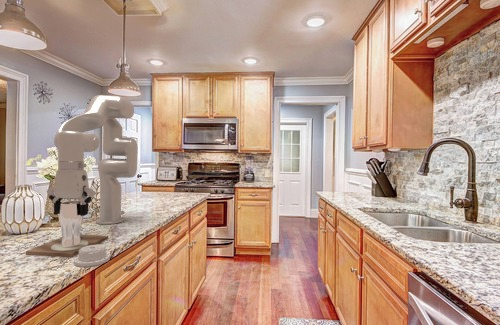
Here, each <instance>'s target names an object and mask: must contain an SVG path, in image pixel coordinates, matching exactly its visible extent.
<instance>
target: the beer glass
mask: <svg viewBox="0 0 500 325" xmlns="http://www.w3.org/2000/svg"><path fill="white" fill-rule="evenodd" d="M61 202H62V203H60V214H58V215H59V224H60V228H61V234H62V235H61V237H62V241H61V247H74V246H78V245H80V244H81V238H80V233H81V229H82V224H83V218H84V216H80V205H82V203H81V202H80V201H79V200H69V201H61Z"/></svg>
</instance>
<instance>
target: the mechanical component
mask: <svg viewBox="0 0 500 325" xmlns="http://www.w3.org/2000/svg"><path fill="white" fill-rule="evenodd" d="M110 259H111V253H109V252H107V246H105V245H104V244H100V243H99V244H97V245H90V246H85V247H82V248H80V250H79V254H78V256H77V255H76V257H74V258H73V264H74V266H76V267H80V268H81V267H83V268H88V267H89V268H90V267H95V266H100V265H103V264H105V263H107V262H109V261H110Z"/></svg>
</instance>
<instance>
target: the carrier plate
mask: <svg viewBox="0 0 500 325" xmlns="http://www.w3.org/2000/svg"><path fill="white" fill-rule="evenodd" d="M80 238H81V244H80V245H78V246H74V247H61V241H62V236H61V237H59V238H56V239H54V240H52V241H49V242H47V243H44V244H43V243H42V244H41V245H39V246H36V247H33V248H30V249H28V250H26V251H25V256H43V257H58V258H59V257H62V258H73V257H75V256H77V255H79V250H80V248H82V247H85V246H90V245H97V244H99V245H100V243H103V242H104V241H106V240H108V239H109V235H103V234H100V235H99V234H83V233H82V232H80Z"/></svg>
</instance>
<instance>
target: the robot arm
mask: <svg viewBox="0 0 500 325" xmlns="http://www.w3.org/2000/svg"><path fill="white" fill-rule="evenodd" d="M134 114H135V106H134V105H133V103H132V102H131V101H130V100H128V99H127V98H125V97H123V96H120V95H108V94H107V95H105V94H98V95H95V96H93V97H92V98H91V100H90V102H89V103H88V105H87V106H86V108H85V109H84V111H83V113H81V114H78V115H76V116H74V117H72V118H70V119H67V120H66V121H64V122H63V123H62V124H61V126H59V129H58V130H57V131H56V133H55V135H54V140H53V143H54V146H55V148H56V149H57V170H56V172H55V176H54V184H53V185H54V186H52V187H50V188H49V189H47V190H46V193H47V195H48V198H49V200H50V201H51V203H52V204H53V215H54V216H57V215H59V214H60V203H62V202H63V200H65V199H67V200H68V199H69V200H78V201H80V202H81V203H82V205H80V216H83V217H84V216H86V215H88V214H89V204H91V202H92V201H93V200H94V197H95V195H96V191H95V190H93V189H91V188H90V186H89V178H88V172H87V169H85V168H86V167H87V164H86V163H84V162H85V161H84V159H85V158H84V156H85V155H84V154H85V153H92V152H95V151H97V150H98V148H99V146H100V139H99V137H98V136H97V135H96V134H95V133H93V132H90V131H94V130H97V129H100V128H102V127H103V132H102V133H103V137H102V151H103V152H102V153H103V154H105V155H106V156H110V157H111V156H113V157H126V158H112V157H111V158H104V159H101V160H100V161H99V162H98V163H97V164H98V165H97V170H98V176H99V218H97V219H96V220H95V223H96V224H98V225H115V224H119V223H123V222H124V221H125V217H123V216H122V215H124V214H125V210H122V185H121V183H120V181H119V180H118V179H119V178H121V179H122V178H123V179H125V178H126V179H128V178H130V179H131V178H134V177H135V176H136V175H137V171H138V170H137V169H138V152H139V151H138V142H137V140H136V139H135V138H134V137H128V136H127V137H125V136H123V126H122V124H121V123H120V122H119V121H118V120H117V119H126V120H127V119H128V120H129V119H131V118H133V116H134ZM117 178H118V179H117Z"/></svg>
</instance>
